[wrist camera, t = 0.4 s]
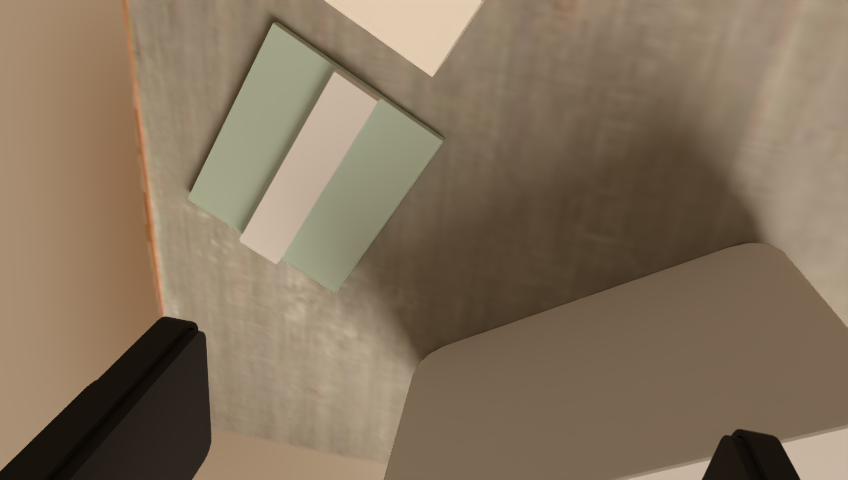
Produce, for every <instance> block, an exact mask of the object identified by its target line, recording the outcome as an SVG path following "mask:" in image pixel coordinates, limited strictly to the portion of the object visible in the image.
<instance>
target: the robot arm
mask: <svg viewBox="0 0 848 480" xmlns="http://www.w3.org/2000/svg"><path fill="white" fill-rule="evenodd" d="M210 444H211V422H210V404H209V386H208V368H207V349H206V336H205V334H204V332H201V331H198V326H197V324H196V323H194V322H192V321H186V320H181V319H176V318H171V317H162V318H160V319H159V320H158V321H157V322H156V323H155V324H154V325H153V326H152V327H151V328H150V329H149V330H148V331H147V332H146V333H145V334H144V335H142V336H141V337H140V338H139V339H138V340H137V341H136V342H135V343H134V345H132V346H131V347H130V348H129V349H128V350H127V351H126V352H125V353H124V354H123V355H122V356H121V357H120V358H119V359H118V360H117V361H116V362H115V363H114V364H113V365H112V366H111V367H110V368H109V369H108V370H107V371H106V372H105V373H104V374H103V375H102V376H101V377H100V378H99V379H98V380H96V381H94V382H93V383H91V384H90V385H89V386H87V387H86V388H85V389H84V390H83V391H82V392H81V393H80V394H79V395H78V396H77V397H76V398H75V399H74V400H73V401H72V402H71V403H70V404H69V405H68V406H67V407H66V408H65V409H64V410H63V411H62V412H61V413H60V414H59V415H58V416H57V417H55V418H54V419H53V420H52V421H51V423H49V424H48V425H47V426H46V427H45V428H44V430H42V431H41V432H40V433H39V434H38V435H37V436H36V437H35V438H34V439H33V440H32V441H31V442H30V443H29V444H28V445H27V446H26V447H25V448H24V449H23V450H22V451H21V452H20V453H19V454H18V455H17V456H16V457H14V458H13V459H12V460H11V461H10V462H9V463H8V464H7V465H6V466H5V467H4V468H3V469H2V470H1V471H0V480H192V479H193V477H194V476H195V474H196V473H197V471H198V469H199V468H200V466H201V465H202V463H203V462H204V460H205V458H206V456H207V454H208V452H209V449H210ZM702 480H801V479H800V477H799V476H798V474H797V472H796V470H795V468H794V466H793V464H792V463H791V461H790V459H789V457H788V455H787V453H786V451H785V450H784V448H783V446H782V444H781V442H780V441H779V439H778V438H777V437H775V436H774V435H769V434H764V433H759V432H754V431H749V430H744V429H737V430H735V431H734V432H733V434H732V435H731V436H730V435H725V436H723V437H722V438H721V440H720V442H719V444H718V446H717V448H716V451H715V453H714V455H713V457H712V459H711V461H710V463H709V465H708V468H707V470H706V472H705V474H704V476H703V478H702Z"/></svg>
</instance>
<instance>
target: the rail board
mask: <svg viewBox="0 0 848 480" xmlns="http://www.w3.org/2000/svg"><path fill="white" fill-rule="evenodd" d="M444 139H445V138H443V137H442V136H440V135H439V134H437V133H436V132H435V131H433V130H432V129H430V128H429V127H427V126H426V125H425V124H423V123H422V122H420V121H419V120H417V119H416V118H415V117H413V116H412V115H410V114H409V113H407V112H406V111H405V110H403V109H402V108H400V107H399V106H397V105H396V104H394V103H393V102H392V101H390V100H389V99H387V98H386V97H384V96H383V95H382V94H380V93H379V92H377V91H376V90H374V89H373V88H372V87H370V86H369V85H367V84H366V83H364V82H363V81H362V80H360V79H359V78H357V77H356V76H354V75H353V74H352V73H350V72H349V71H347V70H346V69H344V68H343V67H342V66H340V65H339V64H337V63H336V62H334V61H333V60H332V59H330V58H329V57H327V56H326V55H324V54H323V53H321V52H320V51H319V50H317V49H316V48H314V47H313V46H311V45H310V44H309V43H307V42H306V41H304V40H303V39H301V38H300V37H299V36H297V35H296V34H294V33H293V32H291V31H290V30H289V29H287V28H286V27H284V26H283V25H281V24H280V23H279V22H275V23H273V24H272V26H271V28H270V30H269V32H268V34H267V36H266V38H265V41H264V43H263V45H262V47H261V49H260V51H259V53H258V55H257V57H256V59H255V61H254V63H253V65H252V67H251V69H250V71H249V73H248V76H247V78H246V80H245V82H244V84H243V86H242V88H241V90H240V92H239V94H238V96H237V98H236V100H235V102H234V104H233V106H232V108H231V110H230V113H229V115H228V117H227V119H226V121H225V123H224V125H223V127H222V129H221V131H220V133H219V135H218V137H217V139H216V141H215V143H214V145H213V148H212V150H211V152H210V154H209V156H208V158H207V160H206V162H205V164H204V166H203V168H202V170H201V172H200V174H199V176H198V178H197V180H196V182H195V185H194V187H193V189H192V191H191V193H190V195H189V197H188V200H190V201H191V202H193V203H194V204H196V205H198V206H199V207H201V208H202V209H204V210H205V211H207V212H209V213H210V214H212V215H213V216H215V217H216V218H218V219H219V220H221V221H223V222H224V223H226V224H227V225H229V226H230V227H232V228H233V229H235V230H237V231H238V232H240V233H241V234H242V236H241V238H240V240H239V241H240V242H241V243H243V244H245V245H246V246H248V247H249V248H251V249H252V250H254V251H256V252H257V253H259V254H260V255H262V256H263V257H265V258H266V259H268V260H270V261H271V262H273V263H274V264H276V265H277V264H278V262H279V261H280V260H281V259H282V260H283V261H285V262H286V263H288V264H290V265H291V266H293V267H294V268H296V269H297V270H299V271H301V272H302V273H304V274H305V275H307V276H308V277H310V278H311V279H313V280H315V281H316V282H318V283H319V284H321V285H322V286H324V287H325V288H327V289H329V290H330V291H332V292H333V293H335V294H336V292H337V291H338V290H339V288H340V287H341V285H342V284H343V283H344V281H345V280H346V278H347V277H348V276H349V274H350V273H351V271H352V270H353V268H354V267H355V266H356V264H357V263H358V261H359V260H360V259H361V257H362V256H363V254H364V253H365V252H366V250H367V249H368V247H369V246H370V244H371V243H372V242H373V240H374V239H375V237H376V236H377V235H378V233H379V232H380V230H381V229H382V228H383V226H384V225H385V223H386V222H387V220H388V219H389V218H390V216H391V215H392V213H393V212H394V211H395V209H396V208H397V206H398V205H399V204H400V202H401V201H402V199H403V198H404V196H405V195H406V194H407V192H408V191H409V189H410V188H411V187H412V185H413V184H414V182H415V181H416V179H417V178H418V177H419V175H420V174H421V172H422V171H423V170H424V168H425V167H426V165H427V164H428V163H429V161H430V160H431V158H432V157H433V155H434V154H435V153H436V151H437V150H438V148H439V147H440V146H441V144H442V143H443V141H444Z"/></svg>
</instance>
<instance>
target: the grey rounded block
mask: <svg viewBox="0 0 848 480" xmlns="http://www.w3.org/2000/svg"><path fill="white" fill-rule="evenodd" d="M737 429H744V430H749V431H754V432H759V433H764V434H769V435H774V436H775V437H777V438H778V439H779V441H780V442H781V444H782V446H783V448H784V450H785V451H786V453H787V455H788V457H789V459H790V461H791V463H792V464H793V466H794V468H795V470H796V472H797V474H798V476H799V477H800V479H801V480H848V327H847V326H846V325H845V324H844V323H843V322H842V320H841V319H840V318H839V317H838V316H837V314H836V313H835V312H834V311H833V310H832V309H831V307H830V306H829V305H828V304H827V303H826V301H825V300H824V299H823V298H822V297H821V296H820V294H819V293H818V292H817V291H816V290H815V288H814V287H813V286H812V285H811V284H810V283H809V281H808V280H807V279H806V278H805V277H804V275H803V274H802V273H801V272H800V271H799V270H798V268H797V267H796V266H795V265H794V264H793V262H792V261H791V260H790V259H789V258H788V257H787V255H786V254H785V253H784V252H783V251H782V250H780V249H778V248H776V247H774V246H772V245H770V244H763V243H746V244H742V245H737V246H732V247H728V248H725V249H722V250H720V251H717V252H714V253H711V254H708V255H705V256H702V257H699V258H697V259H694V260H691V261H688V262H685V263H682V264H679V265H676V266H673V267H671V268H668V269H665V270H662V271H659V272H656V273H653V274H650V275H647V276H645V277H642V278H639V279H636V280H633V281H630V282H627V283H624V284H622V285H619V286H616V287H613V288H610V289H607V290H604V291H601V292H598V293H596V294H593V295H590V296H587V297H584V298H581V299H578V300H575V301H572V302H570V303H567V304H564V305H561V306H558V307H555V308H552V309H549V310H547V311H544V312H541V313H538V314H535V315H532V316H529V317H526V318H523V319H521V320H518V321H515V322H512V323H509V324H506V325H503V326H500V327H497V328H495V329H492V330H489V331H486V332H483V333H480V334H477V335H474V336H471V337H469V338H466V339H463V340H460V341H457V342H454V343H451V344H448V345H446V346H443V347H441V348H439V349H437V350H435V351H433V352H431V353H430V354H429V355H428V356H427V357H426V358H424V359H423V360H422V361H421V362H420V363H419V365H418V366H417V368H416V370H415V372H414V373H413V376H412V380H411V384H410V387H409V391H408V394H407V398H406V402H405V405H404V409H403V412H402V416H401V420H400V423H399V427H398V430H397V434H396V437H395V441H394V445H393V448H392V452H391V455H390V459H389V463H388V466H387V470H386V473H385V477H384V480H702V478H703V476H704V474H705V472H706V470H707V468H708V465H709V463H710V461H711V459H712V457H713V455H714V453H715V451H716V448H717V446H718V444H719V442H720V440H721V438H722V437H723V436H725V435H730V436H731V435H732V434H733V432H734V431H735V430H737Z"/></svg>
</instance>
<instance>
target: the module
mask: <svg viewBox="0 0 848 480" xmlns="http://www.w3.org/2000/svg"><path fill="white" fill-rule="evenodd" d="M325 1H326V2H327V3H329V4H330V5H332V6H333V7H334V8H336V9H337V10H339V11H340V12H341V13H343V14H344V15H346V16H347V17H348V18H350V19H351V20H353V21H354V22H356V23H357V24H358V25H360V26H361V27H363V28H364V29H365V30H367V31H368V32H370V33H371V34H372V35H374V36H375V37H377V38H378V39H379V40H381V41H382V42H384V43H385V44H386V45H388V46H389V47H391V48H392V49H393V50H395V51H396V52H398V53H399V54H400V55H402V56H403V57H405V58H406V59H407V60H409V61H410V62H412V63H413V64H415V65H416V66H417V67H419V68H420V69H422V70H423V71H424V72H426V73H427V74H429V75H430V76H431V77H433V76H434V74H435V73H436V72H437V71H438V69H439V68H440V67H441V66H442V64H443V63H444V62H445V60H446V59H447V57H448V56H449V54H450V53H451V51H452V50H453V48H454V47H455V45H456V44H457V42H458V41H459V39H460V38H461V36H462V35H463V33H464V32H465V30H466V29H467V27H468V26H469V24H470V22H471V21H472V19H473V18H474V16H475V15H476V13H477V12H478V10H479V9H480V7H481V6H482V4H483V3H484V1H485V0H325Z"/></svg>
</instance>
